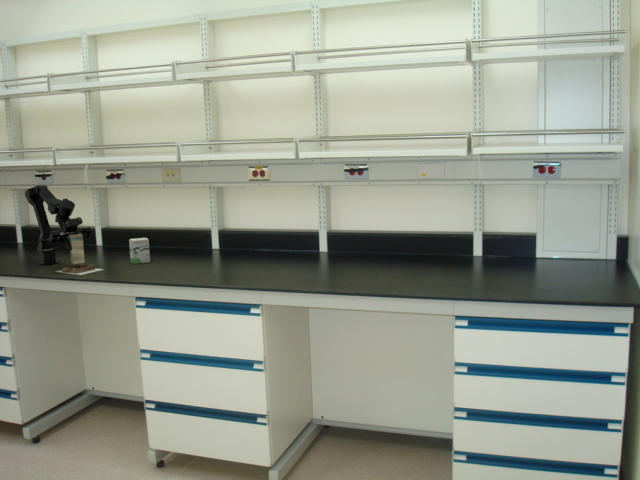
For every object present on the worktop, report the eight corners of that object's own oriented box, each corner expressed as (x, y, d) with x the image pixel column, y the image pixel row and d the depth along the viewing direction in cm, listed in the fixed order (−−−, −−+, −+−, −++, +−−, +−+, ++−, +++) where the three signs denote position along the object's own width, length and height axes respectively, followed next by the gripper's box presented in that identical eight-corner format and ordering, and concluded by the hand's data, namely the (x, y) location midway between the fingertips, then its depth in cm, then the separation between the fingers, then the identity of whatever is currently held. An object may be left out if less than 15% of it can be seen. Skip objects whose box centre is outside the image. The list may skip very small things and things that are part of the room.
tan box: (71, 262, 270) (68, 234, 268) (82, 261, 273) (80, 233, 271) (73, 264, 267) (70, 235, 265) (84, 262, 270) (82, 234, 268)
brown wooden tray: (62, 271, 268) (61, 267, 268) (80, 267, 277) (80, 263, 277) (76, 273, 264) (76, 269, 263) (95, 269, 272) (94, 265, 272)
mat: (54, 272, 270) (54, 271, 269) (78, 267, 281) (78, 266, 281) (81, 275, 261) (81, 274, 261) (104, 269, 272) (104, 269, 272)
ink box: (133, 264, 284) (131, 240, 283) (130, 262, 288) (128, 239, 287) (150, 262, 289) (149, 238, 287) (147, 260, 293) (145, 237, 291)
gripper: (49, 213, 262) (61, 240, 256) (89, 210, 276) (102, 235, 270) (43, 229, 269) (55, 256, 263) (82, 225, 282) (95, 250, 276)
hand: (78, 248), depth 268 cm, fingers closed on tan box, 6 cm apart
